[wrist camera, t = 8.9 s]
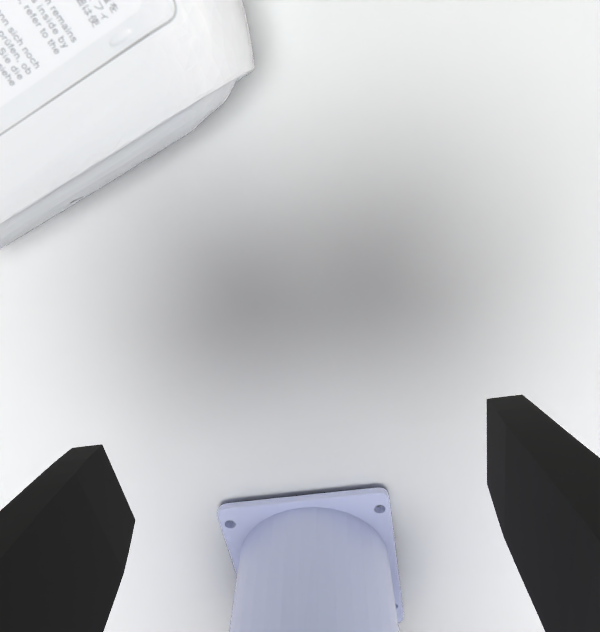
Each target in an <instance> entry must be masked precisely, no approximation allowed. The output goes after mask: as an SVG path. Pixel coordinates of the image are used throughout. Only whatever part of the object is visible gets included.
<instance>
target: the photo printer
mask: <svg viewBox="0 0 600 632" xmlns="http://www.w3.org/2000/svg"><path fill="white" fill-rule="evenodd" d="M253 70H254V59H253V53H252V46H251V39H250V32H249V27H248V22H247V18H246V14H245V10H244V5H243V1H242V0H0V249H1V248H3V247H5V246H6V245H8V244H9V243H11V242H13V241H14V240H16V239H18V238H19V237H21V236H23V235H24V234H26V233H27V232H29V231H31V230H32V229H34V228H36V227H37V226H39V225H41V224H42V223H44V222H45V221H47V220H49V219H50V218H52V217H53V216H55V215H57V214H58V213H60V212H62V211H63V210H65V209H67V208H68V207H70V206H72V205H73V204H75V203H77V202H78V201H80V200H81V199H82V198H84V197H86V196H88V195H90V194H91V193H93V192H95V191H96V190H98V189H100V188H101V187H103V186H104V185H106V184H108V183H109V182H111V181H113V180H114V179H116V178H117V177H119V176H121V175H122V174H124V173H125V172H127V171H129V170H130V169H132V168H133V167H135V166H137V165H138V164H140V163H141V162H143V161H145V160H146V159H148V158H149V157H151V156H153V155H154V154H156V153H158V152H159V151H161V150H162V149H164V148H166V147H167V146H169V145H171V144H172V143H174V142H176V141H177V140H179V139H180V138H182V137H184V136H185V135H187V134H188V133H190V132H191V131H192V130H194V129H195V128H196V127H197V126H198V125H199V124H200V123H201V122H202V121H203V120H204V119H206V118H207V117H208V116H209V115H210V114H211V113H212V112H214V111H215V110H216V109H217V108H218V107H220V106H221V105H222V104H223V103H224V102H225V101H226V99H227V98H228V96H229V94H230V93H231V91H232V88H233V86H234V84H235V82H237V81H238V80H239V79H241V78H242V77H244V76H245V75H247V74H249V73H250V72H251V71H253Z"/></svg>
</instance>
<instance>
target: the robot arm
mask: <svg viewBox="0 0 600 632" xmlns="http://www.w3.org/2000/svg"><path fill="white" fill-rule="evenodd" d="M487 485H488V488H489V491H490V494H491V498H492V501H493V504H494V508H495V511H496V514H497V517H498V520H499V523H500V527H501V530H502V533H503V536H504V539H505V541H506V543H507V546H508V548H509V550H510V553H511V555H512V557H513V559H514V562H515V564H516V566H517V568H518V571H519V573H520V575H521V578H522V580H523V582H524V584H525V587H526V589H527V591H528V593H529V596H530V598H531V600H532V602H533V605H534V607H535V609H536V611H537V614H538V616H539V618H540V620H541V623H542V625H543V627H544V629H545V632H600V458H599V457H598V456H597V455H595V454H594V453H593V452H592V451H590V450H589V449H588V448H587V447H585V446H584V445H583V444H582V443H580V442H579V441H578V440H577V439H575V438H574V437H573V436H572V435H571V434H569V433H568V432H567V431H566V430H564V429H563V428H562V427H561V426H560V425H558V424H557V423H556V422H555V421H554V420H552V419H551V418H550V417H549V416H548V415H546V414H545V413H544V412H543V411H542V410H540V409H539V408H538V407H537V406H536V405H534V404H533V403H532V402H531V401H529V400H528V399H527V398H526V397H524V396H523V395H516V396H507V397H499V398H490V399H487ZM378 505H382V506H380V507H377V506H378ZM217 517H218V520H219V523H220V526H221V529H222V532H223V535H224V538H225V541H226V544H227V547H228V550H229V553H230V557H231V560H232V563H233V566H234V569H235V572H236V575H237V581H236V588H235V595H234V602H233V609H232V616H231V623H230V630H229V632H399V626H398V623H400V622H401V621H402V620H403V619H404V613H403V605H402V597H401V589H400V580H399V572H398V564H397V556H396V548H395V540H394V531H393V523H392V515H391V507H390V499H389V494H388V491H386V490H385V489H383V488H377V487H376V488H367V489H358V490H348V491H339V492H329V493H320V494H310V495H301V496H291V497H282V498H272V499H263V500H253V501H244V502H234V503H226V504H222V505H221V506H220V507H219V509H218V513H217ZM229 520H230V521H229ZM231 521H233V522H231ZM134 524H135V518H134V516H133V514H132V511H131V509H130V507H129V504H128V502H127V500H126V498H125V495H124V493H123V491H122V489H121V486H120V484H119V482H118V479H117V477H116V475H115V473H114V470H113V468H112V466H111V463H110V461H109V459H108V457H107V454H106V452H105V450H104V448H103V445H94V446H85V447H77V448H72V449H70V450H69V451H68V452H67V453H65V454H64V455H63V456H62V457H60V458H59V459H58V460H57V461H56V462H54V463H53V464H52V465H51V466H50V467H49V468H48V469H46V470H45V471H44V472H43V473H42V474H41V475H40V476H39V477H37V478H36V479H35V480H34V481H33V482H32V483H31V484H30V485H29V486H27V487H26V488H25V489H24V490H23V491H22V492H21V493H20V494H19V495H17V496H16V497H15V498H14V499H13V500H12V501H11V502H10V503H9V504H7V505H6V506H5V507H4V508H3V509H2V510H1V511H0V632H103V631H104V628H105V625H106V622H107V620H108V617H109V614H110V611H111V608H112V605H113V603H114V600H115V597H116V594H117V591H118V588H119V585H120V582H121V579H122V576H123V573H124V569H125V565H126V561H127V557H128V553H129V548H130V543H131V539H132V534H133V529H134Z"/></svg>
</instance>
